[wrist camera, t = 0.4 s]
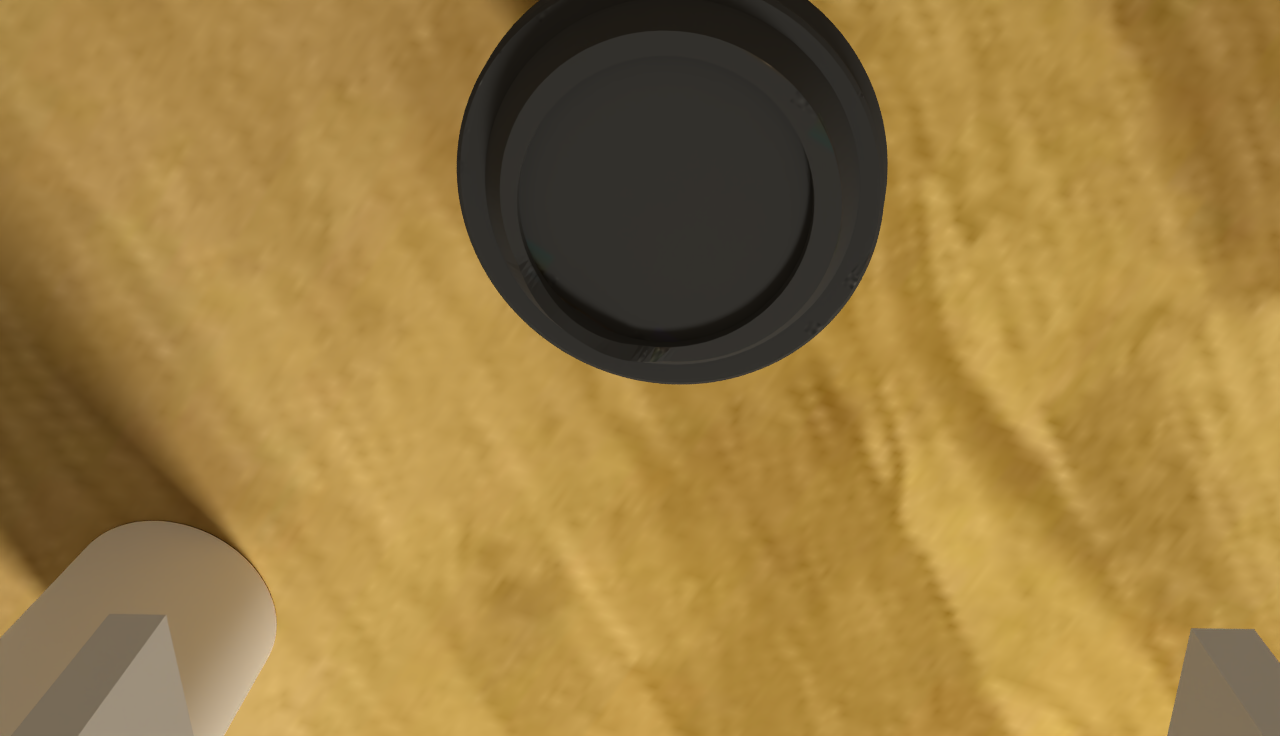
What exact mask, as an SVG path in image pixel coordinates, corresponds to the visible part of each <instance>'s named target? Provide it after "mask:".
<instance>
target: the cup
mask: <svg viewBox="0 0 1280 736" xmlns="http://www.w3.org/2000/svg"><path fill="white" fill-rule="evenodd" d="M109 614H148V615H166V617H167V621H168V625H169V630H170V634H171V638H172V643H173V647H174V652H175V656H176V660H177V665H178V669H179V673H180V678H181V682H182V687H183V691H184V695H185V700H186V704H187V708H188V713H189V717H190V722H191V726H192V730H193V735H194V736H224V735H225V733H226V731H227V729H228V727H229V726H230V724H231V722H232V720H233V719H234V717H235V715H236V713H237V712H238V710H239V708H240V706H241V705H242V703H243V701H244V699H245V698H246V696H247V694H248V692H249V690H250V689H251V687H252V685H253V683H254V682H255V680H256V678H257V676H258V675H259V673H260V671H261V669H262V668H263V666H264V664H265V662H266V660H267V659H268V657H269V655H270V653H271V650H272V648H273V645H274V642H275V637H276V627H277V622H276V613H275V607H274V604H273V600H272V597H271V595H270V593H269V590H268V588H267V586H266V585H265V583H264V581H263V580H262V578H261V576H260V575H259V574H258V572H257V571H256V570H255V568H254V567H253V566H252V565H251V564H250V563H249V562H248V561H247V560H246V559H245V558H244V557H243V556H242V555H241V554H240V553H239V552H238V551H236V550H235V549H234V548H232V547H231V546H230V545H228V544H227V543H225V542H223V541H222V540H220V539H218V538H217V537H215V536H213V535H211V534H209V533H206V532H204V531H202V530H199V529H196V528H193V527H191V526H187V525H183V524H179V523H173V522H165V521H141V522H134V523H129V524H125V525H122V526H118V527H116V528H113V529H111V530H109V531H107V532H105V533H103V534H102V535H100V536H99V537H97V538H96V539H95V540H94V541H92V542H91V543H90V544H89V545H88V546H87V547H86V548H85V549H84V550H83V551H82V552H81V553H80V554H79V555H78V557H77V558H76V559H75V560H74V561H73V562H72V563H71V564H70V565H69V566H68V567H67V568H66V569H65V570H64V571H63V572H62V573H61V574H60V575H59V577H58V578H57V579H56V580H55V581H54V582H53V583H52V584H51V585H50V586H49V587H48V588H47V589H46V590H45V591H44V592H43V593H42V594H41V596H40V597H39V598H38V599H37V600H36V601H35V602H34V603H33V604H32V605H31V606H30V607H29V608H28V609H27V610H26V611H25V612H24V613H23V614H22V616H21V617H20V618H19V619H18V620H17V621H16V622H15V623H14V624H13V625H12V626H11V627H10V628H9V629H8V630H7V631H6V632H5V633H4V635H3V636H2V637H1V638H0V736H11V735H12V734H13V732H14V731H15V730H16V729H17V727H18V726H19V725H20V724H21V723H22V721H23V720H24V719H25V718H26V716H27V715H28V714H29V713H30V711H31V710H32V709H33V708H34V706H35V705H36V704H37V703H38V701H39V700H40V699H41V698H42V696H43V695H44V694H45V693H46V692H47V690H48V689H49V688H50V687H51V685H52V684H53V683H54V682H55V680H56V679H57V678H58V677H59V675H60V674H61V673H62V672H63V670H64V669H65V668H66V667H67V665H68V664H69V663H70V662H71V660H72V659H73V658H74V657H75V656H76V654H77V653H78V652H79V651H80V649H81V648H82V647H83V646H84V644H85V643H86V642H87V641H88V639H89V638H90V637H91V636H92V634H93V633H94V632H95V631H96V629H97V628H98V627H99V626H100V625H101V623H102V622H103V621H104V620H105V618H106V617H107V616H108V615H109Z"/></svg>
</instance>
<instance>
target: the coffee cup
mask: <svg viewBox="0 0 1280 736" xmlns="http://www.w3.org/2000/svg"><path fill="white" fill-rule="evenodd" d="M457 183H458V193H459V200H460V206H461V210H462V215H463V219H464V222H465V226H466V229H467V232H468V235H469V238H470V241H471V243H472V246H473V248H474V250H475V253H476V255H477V257H478V259H479V261H480V263H481V265H482V267H483V269H484V270H485V272H486V274H487V275H488V277H489V279H490V280H491V282H492V283H493V285H494V286H495V288H496V289H497V291H498V292H499V293H500V295H501V296H502V297H503V299H504V300H505V301H506V302H507V303H508V305H509V306H510V307H511V308H512V309H513V310H514V311H515V312H516V313H517V315H518V316H519V317H520V318H521V319H522V320H523V321H524V322H526V323H527V324H528V325H529V326H530V327H531V328H532V329H533V330H535V331H536V332H537V333H538V334H539V335H541V336H542V337H543V338H545V339H546V340H547V341H549V342H550V343H551V344H553V345H554V346H556V347H557V348H559V349H561V350H562V351H564V352H565V353H567V354H569V355H571V356H572V357H574V358H576V359H578V360H580V361H582V362H584V363H586V364H589V365H591V366H593V367H596V368H598V369H601V370H603V371H606V372H609V373H612V374H615V375H618V376H622V377H626V378H630V379H634V380H639V381H645V382H652V383H661V384H700V383H709V382H716V381H722V380H726V379H731V378H735V377H739V376H742V375H745V374H748V373H751V372H754V371H757V370H759V369H762V368H764V367H767V366H769V365H771V364H773V363H775V362H777V361H779V360H781V359H783V358H784V357H786V356H788V355H790V354H791V353H793V352H794V351H796V350H797V349H799V348H800V347H802V346H803V345H805V344H806V343H807V342H809V341H810V340H811V339H812V338H814V337H815V336H816V335H817V334H818V333H819V332H821V331H822V330H823V329H824V328H825V327H826V326H827V325H828V324H829V323H830V322H831V321H832V320H833V319H834V318H835V316H836V315H837V314H838V313H839V312H840V311H841V309H842V308H843V307H844V306H845V304H846V303H847V301H848V300H849V299H850V297H851V296H852V294H853V293H854V291H855V289H856V288H857V286H858V284H859V283H860V281H861V279H862V277H863V275H864V273H865V271H866V269H867V267H868V265H869V262H870V260H871V257H872V254H873V252H874V249H875V246H876V242H877V239H878V235H879V231H880V226H881V221H882V215H883V207H884V200H885V194H886V185H887V145H886V136H885V130H884V124H883V119H882V115H881V111H880V108H879V104H878V101H877V98H876V95H875V92H874V90H873V87H872V85H871V82H870V80H869V78H868V76H867V73H866V71H865V69H864V68H863V66H862V64H861V62H860V60H859V58H858V57H857V55H856V54H855V52H854V50H853V49H852V47H851V46H850V44H849V43H848V42H847V40H846V39H845V38H844V36H843V35H842V34H841V33H840V31H839V30H838V29H837V28H836V27H835V25H834V24H833V23H832V22H831V21H830V20H829V19H828V18H827V17H826V16H825V15H824V14H823V13H822V12H821V11H820V10H819V9H818V8H817V7H815V6H814V5H813V4H812V3H811V2H810V1H808V0H539V1H538V2H537V3H536V4H535V5H534V6H532V7H531V8H530V9H529V10H528V11H527V12H526V13H525V14H524V15H523V16H522V17H521V18H520V19H519V20H518V21H517V22H516V23H515V24H514V25H513V26H512V27H511V29H510V30H509V31H508V32H507V33H506V35H505V36H504V37H503V38H502V40H501V41H500V43H499V44H498V45H497V47H496V48H495V50H494V51H493V53H492V54H491V56H490V58H489V59H488V61H487V63H486V65H485V66H484V68H483V70H482V71H481V73H480V75H479V77H478V79H477V81H476V83H475V85H474V88H473V90H472V92H471V95H470V97H469V100H468V103H467V106H466V109H465V112H464V116H463V120H462V124H461V129H460V135H459V141H458V151H457Z"/></svg>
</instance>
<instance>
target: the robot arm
mask: <svg viewBox="0 0 1280 736" xmlns="http://www.w3.org/2000/svg"><path fill="white" fill-rule="evenodd" d="M11 736H194V735H193V730H192V726H191V722H190V717H189V713H188V708H187V704H186V700H185V695H184V691H183V687H182V682H181V678H180V673H179V669H178V665H177V660H176V656H175V652H174V647H173V643H172V638H171V634H170V630H169V625H168V621H167V617H166V615H148V614H109V615H108V616H107V617H106V618H105V620H104V621H103V622H102V623H101V625H100V626H99V627H98V628H97V629H96V631H95V632H94V633H93V634H92V636H91V637H90V638H89V639H88V641H87V642H86V643H85V644H84V646H83V647H82V648H81V649H80V651H79V652H78V653H77V654H76V656H75V657H74V658H73V659H72V660H71V662H70V663H69V664H68V665H67V667H66V668H65V669H64V670H63V672H62V673H61V674H60V675H59V677H58V678H57V679H56V680H55V682H54V683H53V684H52V685H51V687H50V688H49V689H48V690H47V692H46V693H45V694H44V695H43V696H42V698H41V699H40V700H39V701H38V703H37V704H36V705H35V706H34V708H33V709H32V710H31V711H30V713H29V714H28V715H27V716H26V718H25V719H24V720H23V721H22V723H21V724H20V725H19V726H18V727H17V729H16V730H15V731H14V732H13V734H12V735H11ZM1167 736H1280V663H1279V662H1278V660H1277V659H1276V658H1275V656H1274V655H1273V654H1272V652H1271V651H1270V650H1269V648H1268V647H1267V646H1266V645H1265V643H1264V642H1263V641H1262V639H1261V638H1260V637H1259V635H1258V634H1257V633H1256V631H1255V630H1254V629H1198V628H1191V632H1190V636H1189V641H1188V645H1187V650H1186V654H1185V659H1184V663H1183V668H1182V672H1181V677H1180V681H1179V686H1178V690H1177V695H1176V699H1175V704H1174V708H1173V712H1172V717H1171V721H1170V726H1169V730H1168V735H1167Z"/></svg>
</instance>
